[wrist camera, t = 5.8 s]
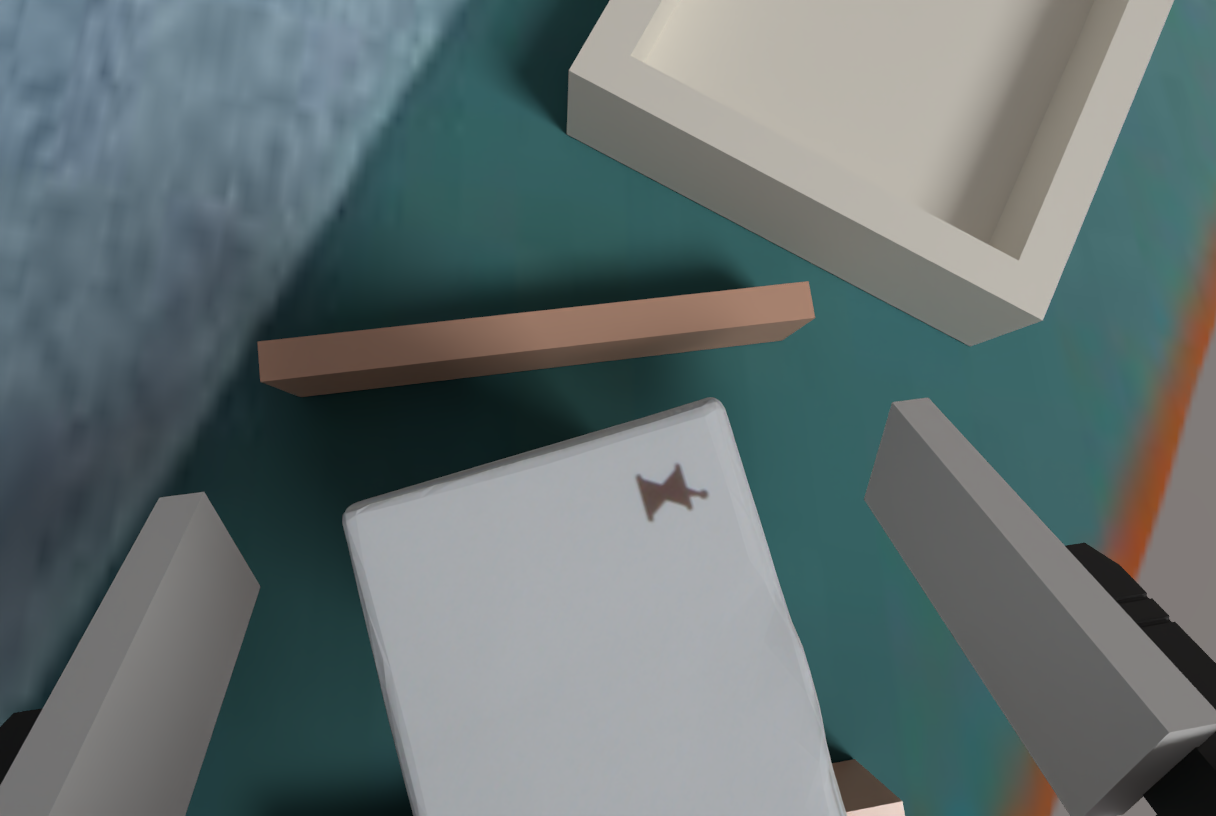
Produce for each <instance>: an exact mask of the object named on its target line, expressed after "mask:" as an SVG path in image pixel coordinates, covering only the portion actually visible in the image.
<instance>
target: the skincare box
mask: <svg viewBox="0 0 1216 816" xmlns="http://www.w3.org/2000/svg"><path fill="white" fill-rule="evenodd" d="M342 524H343V528H344V532H345V536H346V540H347V544H348V549H349V553H350V557H351V562H352V566H353V571H354V575H355V579H356V584H357V588H358V592H359V597H360V601H361V605H362V609H363V613H364V618H365V622H366V626H367V630H368V635H369V639H370V643H371V647H372V652H373V656H374V660H375V664H376V669H377V673H378V677H379V682H380V686H381V690H382V694H383V699H384V703H385V707H386V711H387V716H388V720H389V724H390V728H391V732H392V735H393V739H394V743H395V747H396V751H397V755H398V759H399V763H400V767H401V770H402V774H403V778H404V782H405V786H406V790H407V794H408V797H409V801H410V805H411V809H412V813H413V816H847V814H846V811H845V808H844V804H843V801H842V798H841V794H840V791H839V787H838V784H837V780H836V777H835V774H834V770H833V766H832V762H831V758H830V754H829V750H828V746H827V742H826V738H825V732H824V726H823V721H822V716H821V711H820V707H819V702H818V698H817V694H816V691H815V687H814V683H813V680H812V676H811V673H810V669H809V666H808V663H807V659H806V656H805V653H804V649H803V646H802V644H801V642H800V639H799V637H798V635H797V632H796V630H795V628H794V625H793V623H792V621H791V618H790V615H789V612H788V609H787V606H786V603H785V599H784V596H783V593H782V590H781V587H780V584H779V581H778V578H777V574H776V571H775V568H774V565H773V561H772V558H771V555H770V551H769V548H768V545H767V541H766V538H765V535H764V532H763V528H762V525H761V522H760V519H759V516H758V512H757V509H756V506H755V503H754V500H753V497H752V494H751V490H750V487H749V484H748V481H747V478H746V475H745V471H744V468H743V465H742V462H741V458H740V455H739V452H738V449H737V445H736V442H735V439H734V436H733V432H732V429H731V426H730V423H729V420H728V416H727V413H726V410H725V408H724V406H723V405H722V403H721V402H720V401H719V400H717V399H715V398H710V397H708V398H705V399H702V400H699V401H696V402H692V403H689V404H686V405H683V406H679V407H676V408H673V409H670V410H667V411H663V412H660V413H657V414H654V415H650V416H647V417H643V418H640V419H637V420H633V421H630V422H626V423H623V424H620V425H616V426H613V427H609V428H606V429H603V430H599V431H596V432H592V433H589V434H586V435H582V436H579V437H575V438H572V439H569V440H565V441H562V442H558V443H555V444H552V445H548V446H545V447H541V448H538V449H535V450H531V451H528V452H524V453H521V454H518V455H514V456H511V457H507V458H504V459H501V460H497V461H494V462H490V463H487V464H484V465H480V466H477V467H474V468H470V469H467V470H463V471H460V472H457V473H453V474H450V475H447V476H443V477H440V478H436V479H433V480H430V481H426V482H423V483H420V484H416V485H413V486H409V487H406V488H403V489H399V490H396V491H393V492H389V493H386V494H382V495H379V496H376V497H372V498H369V499H366V500H362V501H359V502H356V503H354V504H352V505H351V506H349V507H348V508H347V510H346V511H345V512H344V514H343V518H342Z"/></svg>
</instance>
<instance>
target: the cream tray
mask: <svg viewBox="0 0 1216 816" xmlns="http://www.w3.org/2000/svg"><path fill="white" fill-rule="evenodd" d="M1173 1H1174V0H610V1H609V3H608V4H607V6H606V8H605V9H604V11H603V13H602V14H601V16H600V18H599V20H598V21H597V23H596V25H595V26H594V28H593V30H592V32H591V33H590V35H589V37H588V38H587V40H586V42H585V44H584V45H583V47H582V49H581V50H580V52H579V54H578V56H577V57H576V59H575V61H574V62H573V64H572V66H571V68H570V69H569V79H568V110H567V135H569V136H571V137H573V138H575V139H577V140H579V141H581V142H582V143H584V144H586V145H588V146H590V147H592V148H594V149H596V150H598V151H600V152H601V153H603V154H605V155H607V156H609V157H611V158H613V159H615V160H617V161H619V162H620V163H622V164H624V165H626V166H628V167H630V168H632V169H634V170H636V171H638V172H639V173H641V174H643V175H645V176H647V177H649V178H651V179H653V180H655V181H657V182H658V183H660V184H662V185H664V186H666V187H668V188H670V189H672V190H674V191H676V192H677V193H679V194H681V195H683V196H685V197H687V198H689V199H691V200H693V201H695V202H696V203H698V204H700V205H702V206H704V207H706V208H708V209H710V210H712V211H714V212H716V213H717V214H719V215H721V216H723V217H725V218H727V219H729V220H731V221H733V222H735V223H736V224H738V225H740V226H742V227H744V228H746V229H748V230H750V231H752V232H754V233H755V234H757V235H759V236H761V237H763V238H765V239H767V240H769V241H771V242H773V243H774V244H776V245H778V246H780V247H782V248H784V249H786V250H788V251H790V252H792V253H793V254H795V255H797V256H799V257H801V258H803V259H805V260H807V261H809V262H811V263H812V264H814V265H816V266H818V267H820V268H822V269H824V270H826V271H828V272H830V273H831V274H833V275H835V276H837V277H839V278H841V279H843V280H845V281H847V282H849V283H850V284H852V285H854V286H856V287H858V288H860V289H862V290H864V291H866V292H868V293H869V294H871V295H873V296H875V297H877V298H879V299H881V300H883V301H885V302H887V303H888V304H890V305H892V306H894V307H896V308H898V309H900V310H902V311H904V312H906V313H907V314H909V315H911V316H913V317H915V318H917V319H919V320H921V321H923V322H925V323H926V324H928V325H930V326H932V327H934V328H936V329H938V330H940V331H942V332H944V333H945V334H947V335H949V336H951V337H953V338H955V339H957V340H959V341H961V342H963V343H964V344H966V345H968V346H973V345H975V344H978V343H981V342H984V341H987V340H989V339H992V338H995V337H998V336H1001V335H1003V334H1006V333H1009V332H1012V331H1014V330H1017V329H1020V328H1023V327H1026V326H1028V325H1031V324H1034V323H1037V322H1040V321H1042V320H1043V318H1044V316H1045V314H1046V311H1047V309H1048V306H1049V304H1050V301H1051V299H1052V297H1053V294H1054V292H1055V289H1056V287H1057V284H1058V282H1059V279H1060V277H1061V275H1062V272H1063V270H1064V267H1065V265H1066V262H1067V260H1068V258H1069V255H1070V253H1071V250H1072V248H1073V245H1074V243H1075V240H1076V238H1077V236H1078V233H1079V231H1080V228H1081V226H1082V223H1083V221H1084V218H1085V216H1086V214H1087V211H1088V209H1089V206H1090V204H1091V201H1092V199H1093V197H1094V194H1095V192H1096V189H1097V187H1098V184H1099V182H1100V179H1101V177H1102V175H1103V172H1104V170H1105V167H1106V165H1107V162H1108V160H1109V157H1110V155H1111V153H1112V150H1113V148H1114V145H1115V143H1116V140H1117V138H1118V136H1119V133H1120V131H1121V128H1122V126H1123V123H1124V121H1125V118H1126V116H1127V114H1128V111H1129V109H1130V106H1131V104H1132V101H1133V99H1134V97H1135V94H1136V92H1137V89H1138V87H1139V84H1140V82H1141V79H1142V77H1143V75H1144V72H1145V70H1146V67H1147V65H1148V62H1149V60H1150V57H1151V55H1152V53H1153V50H1154V48H1155V45H1156V43H1157V40H1158V38H1159V36H1160V33H1161V31H1162V28H1163V26H1164V23H1165V21H1166V18H1167V16H1168V14H1169V11H1170V9H1171V6H1172V4H1173Z"/></svg>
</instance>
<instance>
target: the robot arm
mask: <svg viewBox="0 0 1216 816" xmlns="http://www.w3.org/2000/svg"><path fill="white" fill-rule="evenodd" d="M864 500H865V501H866V503H867V505H868V506H869V508H870V509H871V511H872V512H873V514H874V515H875V517H876V518H877V520H878V521H879V523H880V524H881V526H882V528H883V529H884V531H885V532H886V534H887V535H888V537H889V538H890V540H891V541H892V543H893V544H894V546H895V548H896V549H897V551H898V552H899V554H900V555H901V557H902V558H903V560H904V561H905V563H906V564H907V566H908V567H909V569H910V571H911V572H912V574H913V575H914V577H915V578H916V580H917V581H918V583H919V584H920V586H921V587H922V589H923V590H924V592H925V594H926V595H927V597H928V598H929V600H930V601H931V603H932V604H933V606H934V607H935V609H936V610H937V612H938V613H939V615H940V617H941V618H942V620H943V621H944V623H945V624H946V626H947V627H948V629H949V630H950V632H951V633H952V635H953V636H954V638H955V640H956V641H957V643H958V644H959V646H960V647H961V649H962V650H963V652H964V653H965V655H966V656H967V658H968V660H969V661H970V663H971V664H972V666H973V667H974V669H975V670H976V672H977V673H978V675H979V676H980V678H981V679H982V681H983V683H984V684H985V686H986V687H987V689H988V690H989V692H990V693H991V695H992V696H993V698H994V699H995V701H996V702H997V704H998V706H999V707H1000V709H1001V710H1002V712H1003V713H1004V715H1005V716H1006V718H1007V719H1008V721H1009V722H1010V724H1011V725H1012V727H1013V729H1014V730H1015V732H1016V733H1017V735H1018V736H1019V738H1020V739H1021V741H1022V742H1023V744H1024V745H1025V747H1026V748H1027V750H1028V752H1029V753H1030V755H1031V756H1032V758H1033V759H1034V761H1035V762H1036V764H1037V765H1038V767H1039V768H1040V770H1041V772H1042V773H1043V775H1044V776H1045V778H1046V779H1047V781H1048V782H1049V784H1050V785H1051V787H1052V788H1053V790H1054V791H1055V793H1056V795H1057V796H1058V798H1059V799H1060V801H1061V802H1062V804H1063V805H1064V807H1065V808H1066V810H1067V811H1068V813H1069V814H1070V816H1116V815H1122V814H1124V813H1125V812H1126V811H1127V810H1129V809H1130V808H1131V807H1132V806H1133V805H1134V804H1135V803H1136V802H1137V801H1139V800H1140V799H1141V798H1142V797H1143V796H1144V797H1145V799H1146V800H1147V801H1148V803H1149V804H1150V805H1151V807H1152V808H1153V809H1154V811H1155V812H1156V813H1157V815H1156V816H1216V663H1215V662H1214V661H1213V660H1212V659H1211V658H1210V657H1209V656H1208V655H1207V654H1206V653H1205V652H1204V651H1203V650H1202V649H1201V648H1200V647H1199V646H1198V645H1197V644H1196V643H1195V642H1194V641H1193V640H1192V639H1191V638H1190V637H1189V636H1188V635H1187V634H1186V633H1185V632H1184V631H1183V630H1182V629H1181V627H1180V626H1179V625H1178V624H1177V623H1175V622H1171V621H1170V620H1169V615H1168V614H1167V613H1166V612H1165V611H1164V610H1163V609H1162V608H1161V607H1160V606H1159V605H1158V604H1157V603H1156V602H1155V601H1154V600H1153V599H1149V598H1148V597H1147V595H1146V594H1147V593H1146V592H1145V591H1144V590H1143V589H1142V588H1141V587H1140V586H1139V584H1138V583H1137V582H1136V581H1135V580H1134V579H1133V578H1132V577H1131V576H1130V575H1129V574H1128V573H1127V572H1126V571H1125V570H1124V569H1123V568H1122V567H1121V566H1120V565H1119V564H1117V563H1115V562H1114V561H1112V560H1111V559H1109V558H1108V557H1106V556H1105V555H1103V554H1101V553H1100V552H1098V551H1097V550H1095V549H1094V548H1092V547H1091V546H1089V545H1087V544H1086V543H1080V544H1074V545H1067V546H1064V545H1063V543H1062V542H1061V541H1060V540H1059V539H1058V538H1057V537H1056V536H1055V535H1054V534H1053V533H1052V532H1051V530H1050V529H1049V528H1048V527H1047V526H1046V525H1045V524H1044V523H1043V522H1042V521H1041V520H1040V519H1039V517H1038V516H1037V515H1036V514H1035V513H1034V512H1033V511H1032V510H1031V509H1030V508H1029V507H1028V505H1027V504H1026V503H1025V502H1024V501H1023V500H1022V499H1021V498H1020V497H1019V496H1018V495H1017V494H1016V492H1015V491H1014V490H1013V489H1012V488H1011V487H1010V486H1009V485H1008V484H1007V483H1006V482H1005V481H1004V479H1003V478H1002V477H1001V476H1000V475H999V474H998V473H997V472H996V471H995V470H994V469H993V467H992V466H991V465H990V464H989V463H988V462H987V461H986V460H985V459H984V458H983V457H982V456H981V454H980V453H979V452H978V451H977V450H976V449H975V448H974V447H973V446H972V445H971V444H970V443H969V441H968V440H967V439H966V438H965V437H964V436H963V435H962V434H961V433H960V432H959V431H958V429H957V428H956V427H955V426H954V425H953V424H952V423H951V422H950V421H949V420H948V419H947V418H946V416H945V415H944V414H943V413H942V412H941V411H940V410H939V409H938V408H937V407H936V406H935V405H934V403H933V402H932V401H931V400H930V399H929V398H921V399H914V400H906V401H898V402H892V405H891V408H890V412H889V415H888V419H887V422H886V425H885V429H884V432H883V436H882V439H881V443H880V446H879V449H878V453H877V456H876V460H875V463H874V467H873V470H872V473H871V477H870V480H869V484H868V487H867V491H866V494H865V498H864ZM259 590H260V585H259V583H258V582H257V580H256V578H255V577H254V575H253V573H252V571H251V570H250V568H249V566H248V565H247V563H246V561H245V560H244V558H243V556H242V555H241V553H240V551H239V550H238V548H237V546H236V544H235V543H234V541H233V539H232V538H231V536H230V534H229V533H228V531H227V529H226V528H225V526H224V524H223V523H222V521H221V519H220V518H219V516H218V514H217V512H216V511H215V509H214V507H213V506H212V504H211V502H210V501H209V499H208V497H207V496H206V494H205V492H199V493H191V494H183V495H176V496H168V497H160V498H159V499H158V501H157V503H156V505H155V506H154V508H153V510H152V512H151V514H150V515H149V517H148V519H147V521H146V523H145V524H144V526H143V528H142V530H141V532H140V534H139V535H138V537H137V539H136V541H135V543H134V544H133V546H132V548H131V550H130V552H129V553H128V555H127V557H126V559H125V561H124V562H123V564H122V566H121V568H120V570H119V572H118V573H117V575H116V577H115V579H114V581H113V582H112V584H111V586H110V588H109V590H108V591H107V593H106V595H105V597H104V599H103V600H102V602H101V604H100V606H99V608H98V610H97V611H96V613H95V615H94V617H93V619H92V620H91V622H90V624H89V626H88V628H87V629H86V631H85V633H84V635H83V637H82V638H81V640H80V642H79V644H78V646H77V648H76V649H75V651H74V653H73V655H72V657H71V658H70V660H69V662H68V664H67V666H66V667H65V669H64V671H63V673H62V675H61V676H60V678H59V680H58V682H57V684H56V686H55V687H54V689H53V691H52V693H51V695H50V696H49V698H48V700H47V702H46V704H45V705H44V707H43V708H42V709H36V710H30V711H23V712H17V713H14V714H13V715H12V716H11V717H10V718H9V719H8V720H7V721H6V722H5V723H4V724H3V725H2V726H1V727H0V816H185V814H186V811H187V808H188V805H189V802H190V799H191V796H192V793H193V790H194V787H195V784H196V781H197V778H198V775H199V772H200V769H201V766H202V763H203V760H204V757H205V754H206V751H207V748H208V745H209V742H210V739H211V736H212V732H213V729H214V726H215V723H216V720H217V717H218V714H219V711H220V708H221V705H222V702H223V699H224V696H225V693H226V690H227V687H228V684H229V681H230V678H231V675H232V672H233V669H234V666H235V663H236V660H237V657H238V654H239V650H240V647H241V644H242V641H243V638H244V635H245V632H246V629H247V626H248V623H249V620H250V617H251V614H252V611H253V608H254V605H255V602H256V599H257V596H258V593H259Z"/></svg>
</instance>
